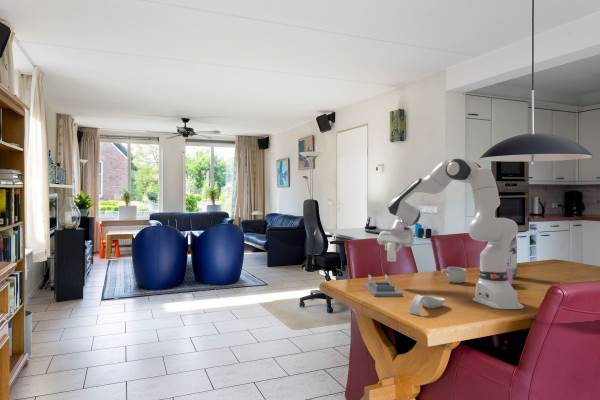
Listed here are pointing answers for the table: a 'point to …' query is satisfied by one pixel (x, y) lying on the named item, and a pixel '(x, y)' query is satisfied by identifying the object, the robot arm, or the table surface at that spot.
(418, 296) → the grey curved piece
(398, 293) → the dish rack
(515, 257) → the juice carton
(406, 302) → the table surface
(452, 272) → the teacup
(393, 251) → the white rectangular block
